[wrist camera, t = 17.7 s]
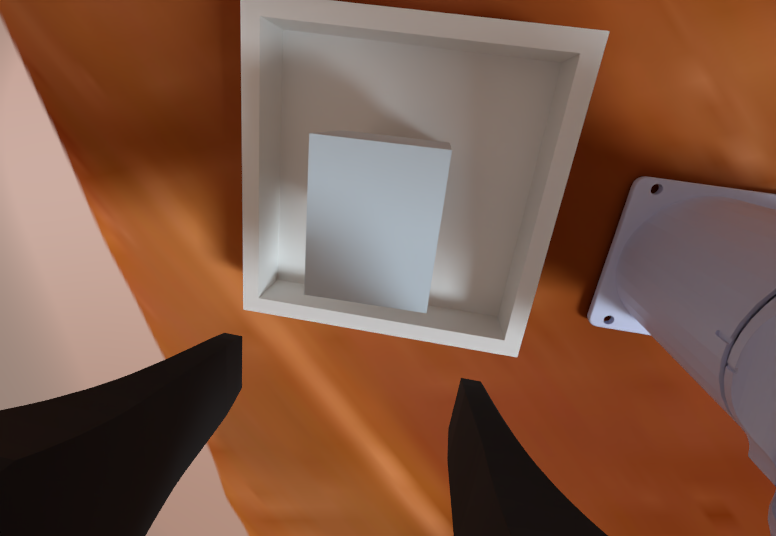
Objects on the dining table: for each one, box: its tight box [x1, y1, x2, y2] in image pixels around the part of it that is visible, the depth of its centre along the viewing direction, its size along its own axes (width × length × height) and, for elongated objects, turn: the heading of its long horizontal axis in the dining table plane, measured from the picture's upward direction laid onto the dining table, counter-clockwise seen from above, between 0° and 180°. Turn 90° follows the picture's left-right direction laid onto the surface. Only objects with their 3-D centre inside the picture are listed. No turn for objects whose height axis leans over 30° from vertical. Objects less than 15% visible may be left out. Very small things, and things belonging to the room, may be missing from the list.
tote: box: [240, 0, 610, 357], centre depth 19 cm, size 14×14×4 cm
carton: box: [304, 130, 452, 313], centre depth 14 cm, size 4×5×4 cm
